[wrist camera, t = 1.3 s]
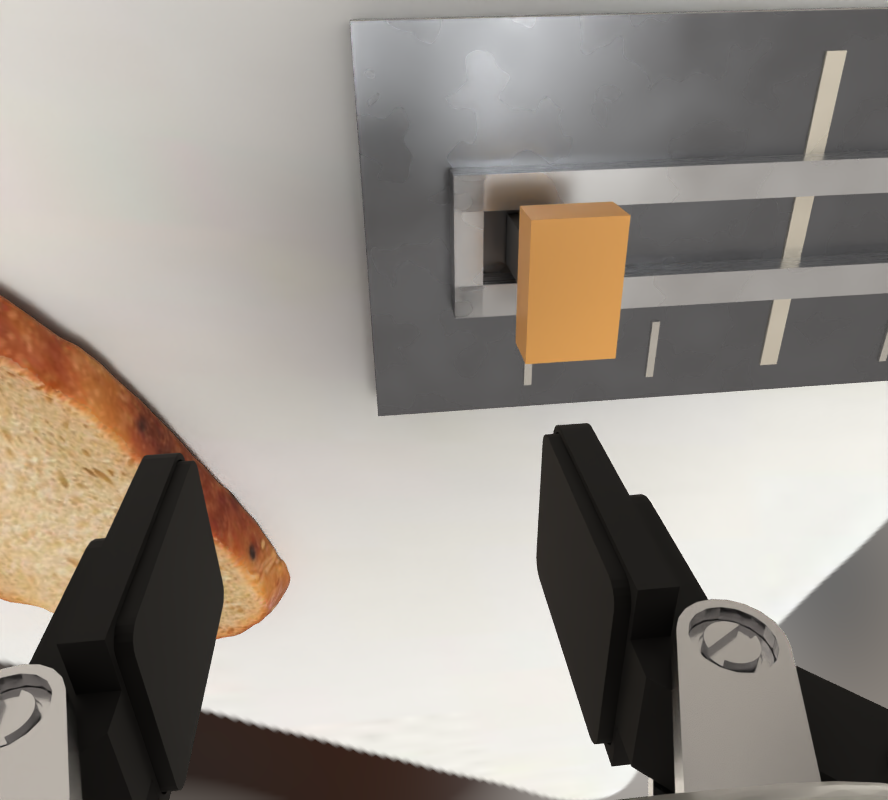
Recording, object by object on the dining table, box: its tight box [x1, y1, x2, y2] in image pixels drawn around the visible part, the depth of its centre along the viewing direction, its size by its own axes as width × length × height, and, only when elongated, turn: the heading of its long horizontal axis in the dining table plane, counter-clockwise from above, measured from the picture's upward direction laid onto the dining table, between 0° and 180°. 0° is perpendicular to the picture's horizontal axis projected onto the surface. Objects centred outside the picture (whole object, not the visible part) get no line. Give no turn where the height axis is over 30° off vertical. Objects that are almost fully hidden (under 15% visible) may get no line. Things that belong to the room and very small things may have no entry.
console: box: [350, 7, 888, 416], centre depth 27 cm, size 26×14×3 cm, turn 91°
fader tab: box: [506, 201, 631, 364], centre depth 24 cm, size 3×4×6 cm, turn 1°
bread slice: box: [0, 295, 290, 639], centre depth 30 cm, size 18×18×4 cm
